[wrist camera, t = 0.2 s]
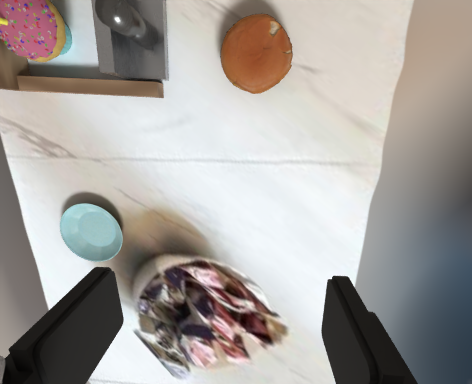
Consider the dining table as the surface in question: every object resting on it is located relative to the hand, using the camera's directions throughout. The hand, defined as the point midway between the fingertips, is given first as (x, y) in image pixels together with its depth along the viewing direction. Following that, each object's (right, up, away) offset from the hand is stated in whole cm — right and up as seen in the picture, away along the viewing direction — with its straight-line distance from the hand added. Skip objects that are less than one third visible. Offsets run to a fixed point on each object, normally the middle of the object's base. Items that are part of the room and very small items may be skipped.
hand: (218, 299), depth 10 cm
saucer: (-26, -2, +36) cm, 44 cm away
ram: (-13, +27, +24) cm, 39 cm away
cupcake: (-26, +28, +26) cm, 46 cm away
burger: (+4, +24, +25) cm, 35 cm away
